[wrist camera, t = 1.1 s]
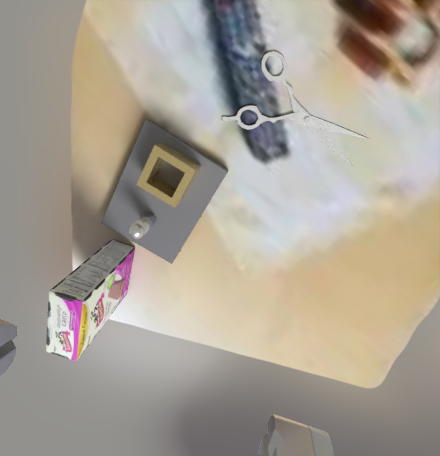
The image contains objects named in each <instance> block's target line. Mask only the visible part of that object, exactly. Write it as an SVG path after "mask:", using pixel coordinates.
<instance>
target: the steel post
mask: <svg viewBox="0 0 440 456" xmlns="http://www.w3.org/2000/svg"><path fill="white" fill-rule="evenodd" d="M156 222H157V218H156V216H155V214H153V213H152V212H146V213H145V214H143V215H142V216H141V217H140V218H139V219H137V220H136V221H135V222H134V223H132V224H131V225H130V226H129V228H128V234H129V236H130V237H132V238H134V239H139V238H141V237H143V236H144V235H145V234H146V233H147V232H148V231H149V230H150V229H151V228H152V227H153V226H154V225H155V223H156Z"/></svg>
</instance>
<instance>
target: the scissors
mask: <svg viewBox="0 0 440 456" xmlns="http://www.w3.org/2000/svg"><path fill="white" fill-rule="evenodd" d="M271 55H276V56H277V57H279V58H280V59H281V60H282V63H283V71H282V74H281V75H279V76H272V75H271V74H270V73H269V72H268V71H267V69H266V67H265V62H266V60H267V58H268V57H269V56H271ZM262 71H263V73H264V75H265V77H266V78H267V79H268V80H269V81H281V83H282V84H283V85H284V86H286V88H287V90H288V93H289V96H290V99H291V105H292V109H293V112H294V113H292V114H288V115H284V116H280V117H276V118H268V117H266V116H264V115H262V114H261V113H260V112H259V110H258V108H257V106H251V105H250V106H246V107H243V108H241V109H240V110H239V111H238V113H237V115H236V116H233V117H222V121H224V122H225V121H228V120H237V123H238V124H239V125H240V126H241V127H242V128H245V129H248V130H249V129H253V128H256V127H257V126H259V125H260V123H262V122H265V121H271V122H273V123H274V122H276V121H277V120H280V119H287V120H290V121H293V122H297V123H300V124H303V125H305V126H306V127H307V128H308V129H309V130H310V131H311V132H313V133H314V134H315V135H316V136H317V137H318V138H319V139H320V140H321V141H322V142H324V143H325V144H326V145H327V146H328V147H330V148H331V149H332V150H333V151H335V152H336V153H337V154H338V155H339V156H340V157H342V158H343V159H344V160H345V161H347V162H348V163H349V164H351V163H350V162H349V161H348V160H347V158H346V157H345V156H344V155H343V154H342V152H341V151H340V150H339V149H338V148H337V147H336V145H335V144H334V143H333V142H332V141H331V140H330V139H329V137H328V136H327V135H326V134H325V133H324V132H323V131H322V130H320V129H324V130H328V131H332V132H337V133H341V134H346V135H351V136H356V137H361V138H365V139H368V138H366V137H363V136H361V135H358V134H356V133H354V132H351V131H349V130H347V129H344V128H342V127H339V126H337V125H335V124H332V123H329V122H327V121H324V120H322V119H319V118H316V117H314V116H310V115H309V114H308V112H306V111H305V110H304V109H303V108H302V107H301V106H300V104H299V103H298V102H297V101H296V100H295V99H294V97H293V94H292V91H293V88H292V87H291V86H290V85H288V84H287V83H286V72H287V66H286V62H285V59H284V57H283V56H282V55H281V54H279V53H278V52H275V51H272V52H268V53H266V54H265V55H264V57H263V59H262ZM244 110H252V111H254V112H255V113H257V116H258V120H257V122H256V124H254V125H251V126H247V125H245V124H243V123H242V122H241V120H240V115H241V113H242V112H243V111H244ZM351 165H352V164H351Z"/></svg>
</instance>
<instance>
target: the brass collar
mask: <svg viewBox="0 0 440 456" xmlns="http://www.w3.org/2000/svg"><path fill="white" fill-rule="evenodd" d="M164 160H165V161H167V162H168V163H170V164H171V165H173V166H175V167H176V168H178V169H180V170H181V171H183V172H184V173H185V174H184V176H183V178H182V180H181V182H180V183H179V185H178V187H177V189H175V188H173V187H172V186H170V185H168V184H167V183H165V182H163V181H162V180H160V179H158V178H157V177H156V176H157V174H158V172H159V170H160V168H161V166H162V164H163V162H164ZM200 168H201V165H199V164H198V163H196V162H194V161H193V160H191V159H190V158H188V157H186V156H185V155H183V154H182V153H180V152H178V151H177V150H175V149H174V148H172V147H170V146H169V145H167V144H166V143H161V144H156V145H154V147H153V150H152V152H151V154H150V156H149V158H148V160H147V163H146V165H145V167H144V169H143V171H142V173H141V176H140V178H139V180H138V182H137V184H136V185H137V186H139V187H141V188H142V189H144V190H146V191H147V192H149V193H151V194H152V195H154V196H156V197H157V198H159V199H161V200H162V201H164V202H166V203H167V204H169V205H171V206H172V207H174V208H176V207H177V206H178V204H179V203H180V202H181V201H182V200H183V198H184V196H185V195H186V193H187V191H188V189H189V187H190V186H191V184H192V182H193V180H194V178H195V177H196V175H197V173H198V171H199V169H200Z"/></svg>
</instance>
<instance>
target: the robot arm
mask: <svg viewBox="0 0 440 456" xmlns="http://www.w3.org/2000/svg"><path fill="white" fill-rule="evenodd" d="M16 336H17V326H15V325H14V324H12V323H9V322H6V321H4V320H1V319H0V376H1V375H2V374H3V373H4V372H5V371H6V370H7V369H8V367H9V366H10V365H11V364H12V362H13V359H14V357H15V354H16V347H15V345H14V343H13V341H12V340H13V339H14V338H15V337H16ZM258 456H334V453H333V449H332V445H331V441H330V437H329V435H328V434H327V432H325V431H322V430H319V429H316V428H313V427H310V426H306V425H304V424H301V423H298V422H295V421H292V420H289V419H286V418H283V417H280V416H277V415H274V414H272V416H271V417H270V419H269V422H268V434H266V435H265V436H263V438H262V441H261V444H260V448H259V453H258Z"/></svg>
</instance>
